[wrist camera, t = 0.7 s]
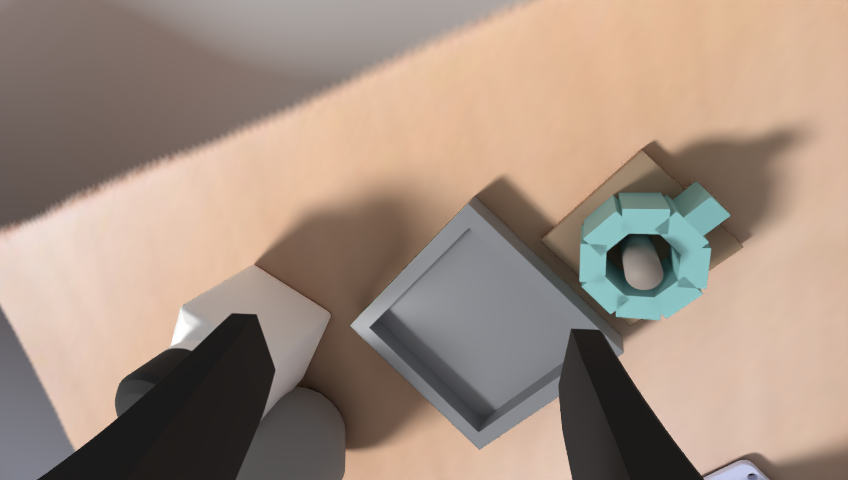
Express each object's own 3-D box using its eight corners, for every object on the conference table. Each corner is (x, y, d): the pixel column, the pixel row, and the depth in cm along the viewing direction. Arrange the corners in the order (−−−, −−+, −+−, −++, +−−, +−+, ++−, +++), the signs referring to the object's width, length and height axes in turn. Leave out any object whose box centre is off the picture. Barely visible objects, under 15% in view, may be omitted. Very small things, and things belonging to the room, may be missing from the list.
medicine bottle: (230, 331, 38) (89, 433, 27) (253, 261, 35) (105, 346, 24) (303, 379, 37) (188, 504, 27) (334, 312, 34) (217, 423, 24)
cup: (374, 395, 36) (302, 505, 27) (356, 482, 39) (287, 604, 30) (266, 350, 38) (165, 438, 29) (258, 436, 41) (166, 538, 32)
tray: (622, 336, 28) (623, 352, 26) (484, 431, 33) (479, 449, 32) (474, 195, 28) (467, 203, 27) (361, 313, 34) (349, 325, 32)
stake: (740, 243, 25) (771, 280, 20) (629, 320, 28) (636, 367, 23) (641, 149, 25) (651, 166, 20) (542, 237, 28) (533, 268, 23)
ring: (631, 310, 27) (636, 339, 24) (559, 241, 27) (555, 262, 24) (746, 228, 24) (767, 250, 21) (664, 150, 24) (674, 161, 21)
